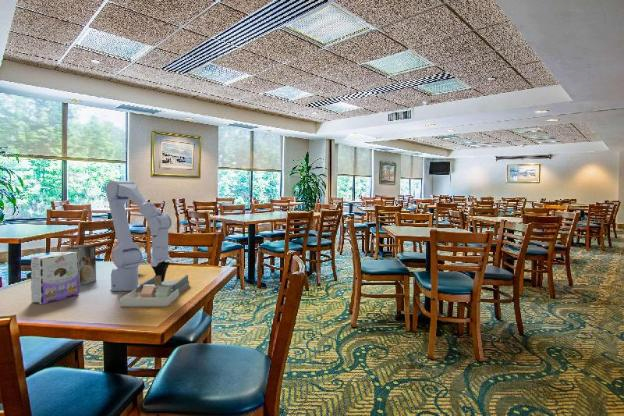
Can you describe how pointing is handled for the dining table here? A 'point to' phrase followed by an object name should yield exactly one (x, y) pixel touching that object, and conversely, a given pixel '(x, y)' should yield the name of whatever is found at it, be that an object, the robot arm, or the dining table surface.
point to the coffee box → (85, 263)
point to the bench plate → (180, 284)
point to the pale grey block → (159, 283)
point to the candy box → (54, 277)
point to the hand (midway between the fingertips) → (160, 281)
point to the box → (147, 300)
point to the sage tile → (163, 292)
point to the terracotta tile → (147, 292)
